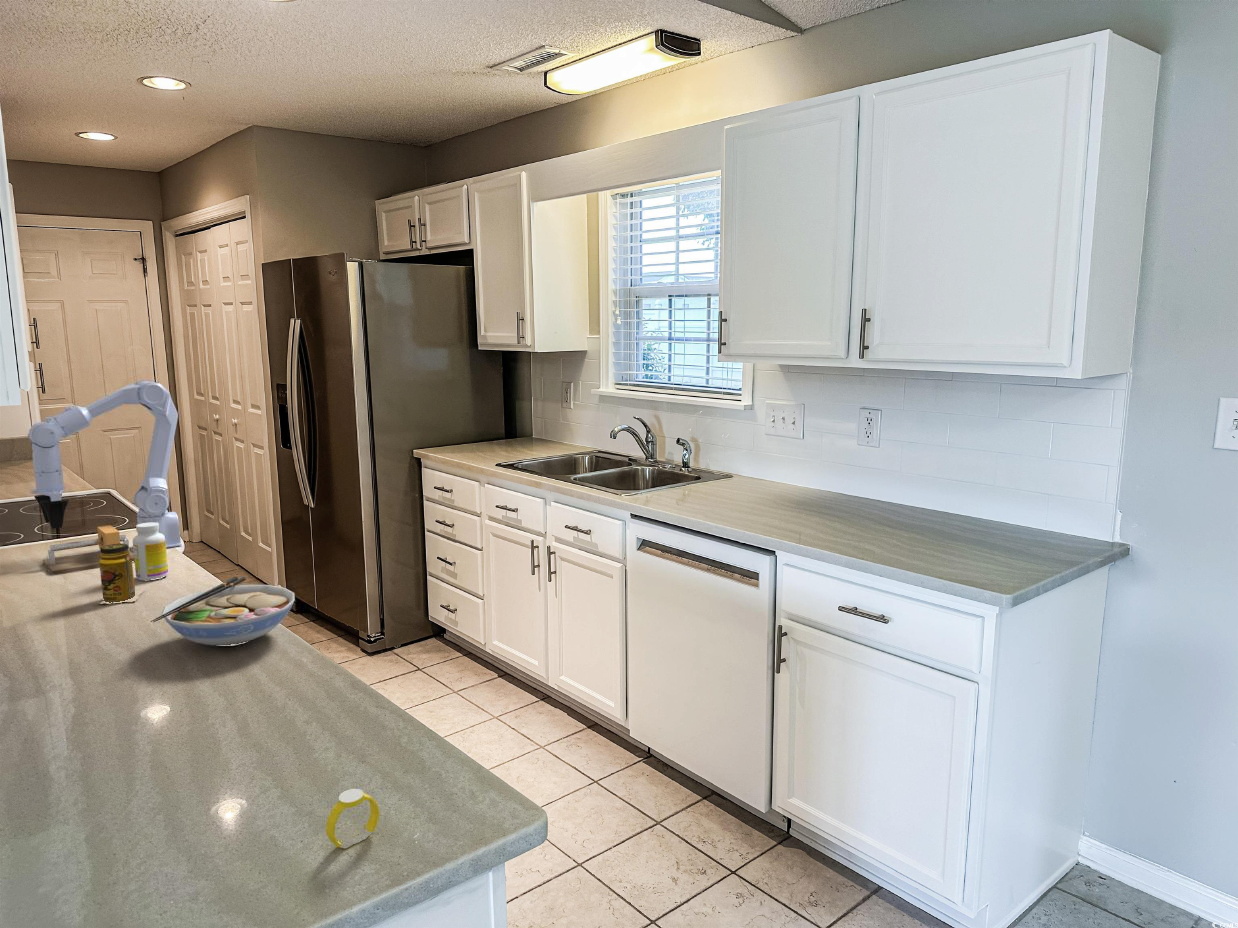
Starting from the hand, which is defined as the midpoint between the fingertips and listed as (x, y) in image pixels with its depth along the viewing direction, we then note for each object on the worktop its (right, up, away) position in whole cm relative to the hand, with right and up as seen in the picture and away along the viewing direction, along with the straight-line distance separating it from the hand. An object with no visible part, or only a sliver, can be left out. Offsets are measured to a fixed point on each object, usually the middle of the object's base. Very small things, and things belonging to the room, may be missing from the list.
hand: (54, 525), depth 208 cm
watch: (+110, -29, -111) cm, 158 cm away
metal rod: (+8, -9, +1) cm, 13 cm away
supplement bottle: (+31, -12, -11) cm, 34 cm away
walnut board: (+8, -9, +1) cm, 13 cm away
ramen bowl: (+67, -18, -49) cm, 85 cm away
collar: (+12, -7, +4) cm, 14 cm away
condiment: (+32, -14, -26) cm, 43 cm away
